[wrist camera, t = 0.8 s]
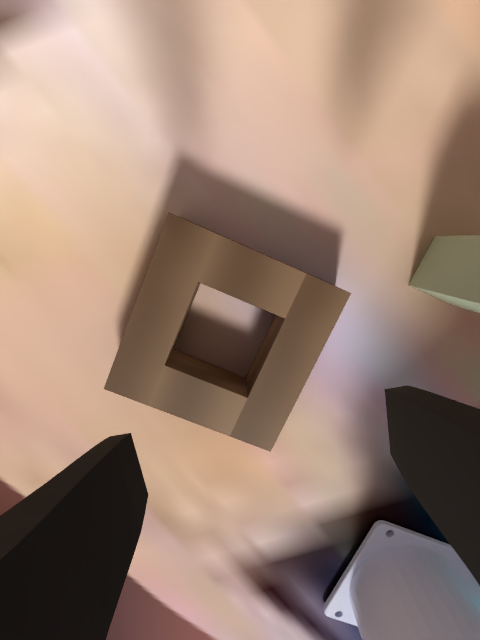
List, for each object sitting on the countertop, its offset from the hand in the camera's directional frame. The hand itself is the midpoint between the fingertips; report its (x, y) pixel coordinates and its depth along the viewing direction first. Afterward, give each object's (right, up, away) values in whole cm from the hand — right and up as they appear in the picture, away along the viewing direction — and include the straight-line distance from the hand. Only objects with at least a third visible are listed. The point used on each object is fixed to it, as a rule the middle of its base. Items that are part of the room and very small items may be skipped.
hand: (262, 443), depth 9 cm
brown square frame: (-1, +3, +9) cm, 10 cm away
